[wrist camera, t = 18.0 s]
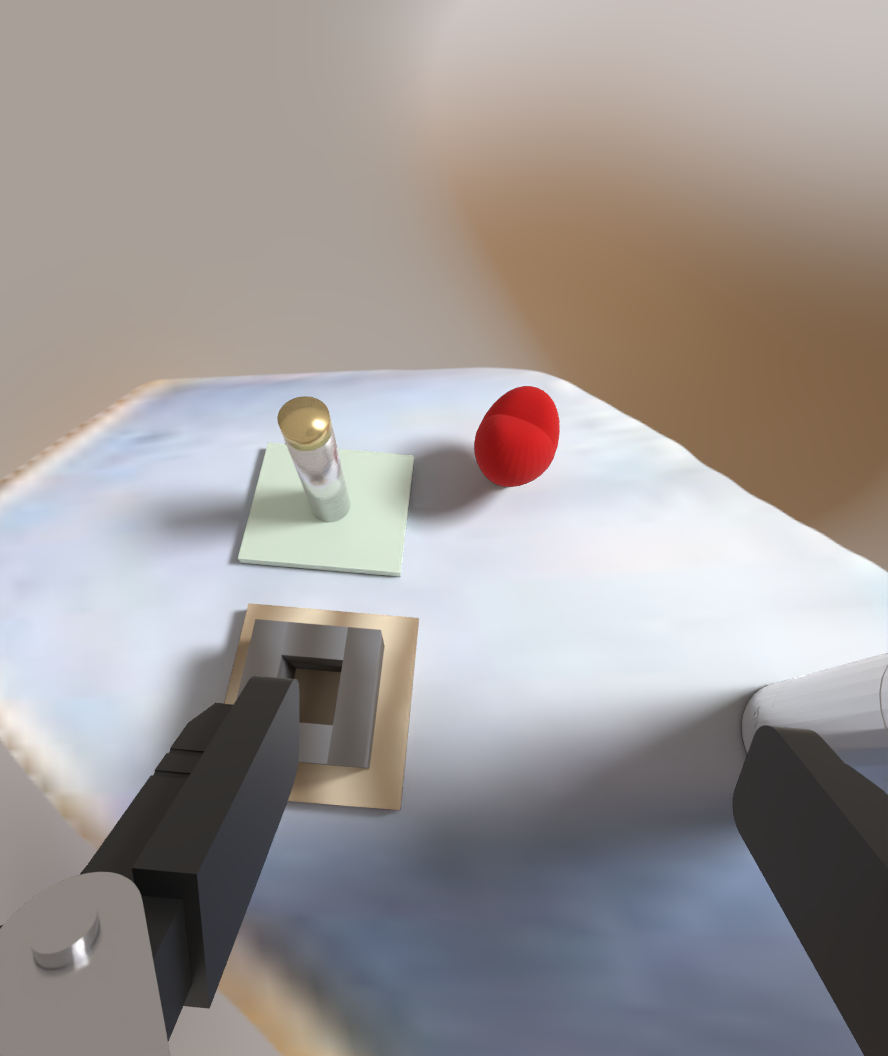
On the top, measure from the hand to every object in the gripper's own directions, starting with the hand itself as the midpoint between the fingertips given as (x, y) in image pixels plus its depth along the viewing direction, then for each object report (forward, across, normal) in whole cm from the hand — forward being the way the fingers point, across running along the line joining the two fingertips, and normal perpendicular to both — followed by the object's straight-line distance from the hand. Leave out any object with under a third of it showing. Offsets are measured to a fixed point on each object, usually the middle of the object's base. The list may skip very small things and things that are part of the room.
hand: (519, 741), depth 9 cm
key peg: (+38, +12, +9) cm, 41 cm away
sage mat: (+39, +12, +9) cm, 42 cm away
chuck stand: (+27, +10, +21) cm, 36 cm away
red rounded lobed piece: (+43, -4, +6) cm, 44 cm away
